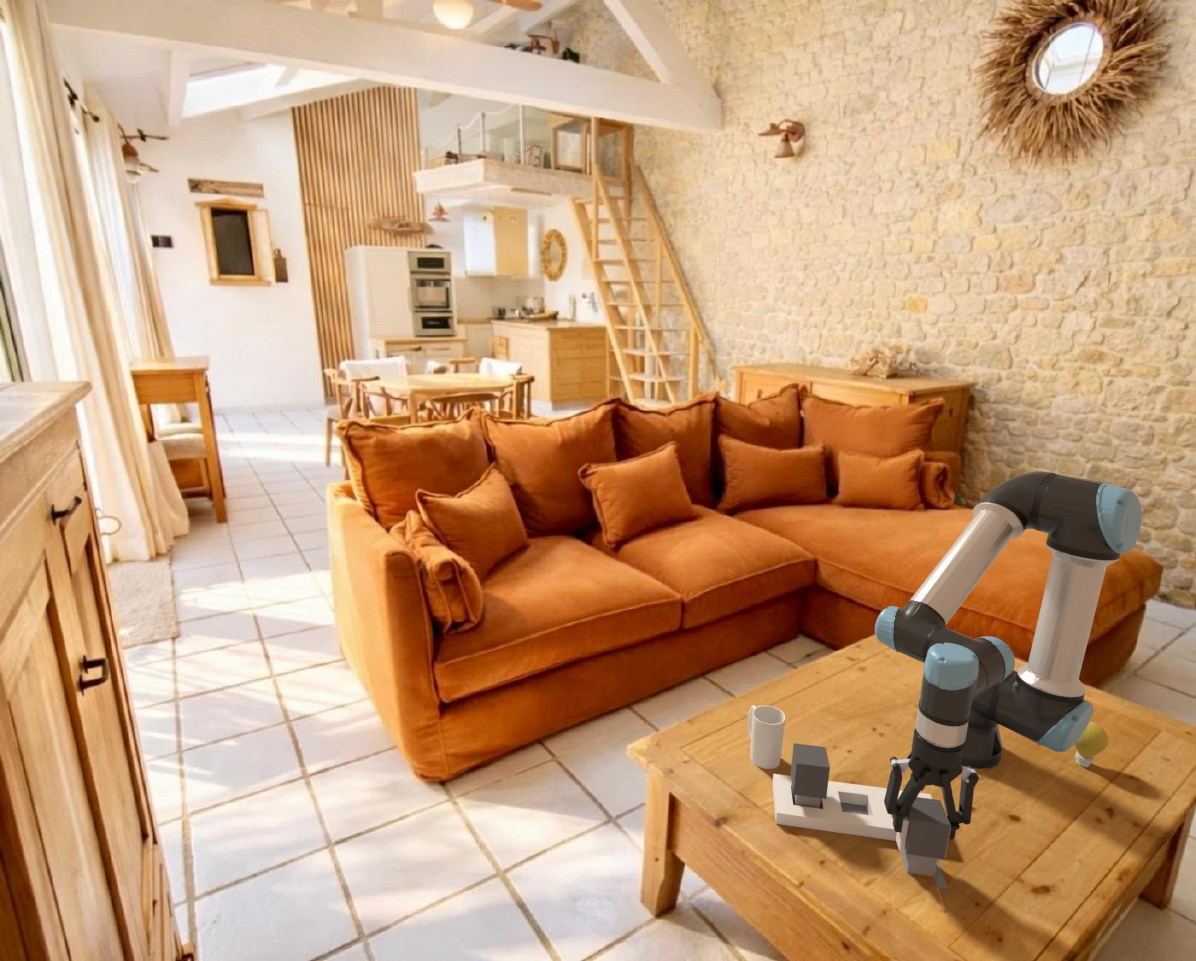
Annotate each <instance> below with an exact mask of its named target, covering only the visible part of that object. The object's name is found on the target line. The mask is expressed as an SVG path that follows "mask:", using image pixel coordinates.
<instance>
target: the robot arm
mask: <svg viewBox="0 0 1196 961" xmlns="http://www.w3.org/2000/svg"><path fill="white" fill-rule="evenodd" d="M1142 511H1143V510H1142V506H1141V502H1140V499H1139V497H1138V495H1137V494H1136V493H1135V492H1134V491H1132V490H1131V489H1128V488H1125V487H1121V486H1118V485H1113V484H1111V483H1107V482H1104V481H1103V482H1102V481H1097V480H1091V479H1086V478H1080V477H1074V476H1070V475H1063V474H1058V473H1055V472H1050V471H1033V472H1032V471H1030V472H1026V473H1022V474H1020V475H1016V476H1013V477H1011V478H1009V479H1007V480H1004V481H1003V482H1001V483H999V484H998V485H996V486H995V487H993V488H992V489H991V490H989V491H988V492H987V493H986V494H985V495H984V496H983V497H981V498H980V499H979V501H978V502H977V503H976V505H975V506H974V507H973V510H972V516H973V517H972V519H971V520H970V521H969V523H968V524H967V525H966V526H965V528H964V530H963V531H961V533H960V534H959V536H958V537H957V539H955V541H954V542H953V544H952V545H951V546H950V547H949V549H948V550H947V551H946V553H945V554H944V556H943V557H942V558H941V559H940V561H939V562H937V564H936V565H935V567H934V568H933V569H932V571H931V572H930V573H929V575H928V576H927V577H926V579H925V580H923V582H922V583H921V585H920V587H918V589H917V590H916V591H915V593H914V594H913V595H912V596H911V598H910V599H909V600H908V602H906V604H905V605H904V606H903V607H902V608H901V607H899V606H894V605H890V606H887V607H886V608H884V609H883V610H881V611H880V613H879V615H878V617H877V619H876V621H875V626H874V633H875V638H876V640H878V642H880V643H881V644H883V645H885V646H887V647H888V648H890V649H891V650H894V651H895V652H896V653H900V654H903V655H904V656H905V655H906V656H907V657H909V658H912V659H914V660H916V661H918V662H920V663H923V667H922V672H923V674H922V680H921V681H922V682H921V688H920V694H919V702H918V707H917V713H916V718H915V724H914V726H915V727H914V730H913V735H912V736H913V739H912V743H911V751H910V753H909V754H908V755H907V758H902V759H898V758H897V757H896V756H891V757H890V758H889V761H890V766H891V770H890V774H889V778H888V782H887V787H886V788H887V791H886V795H885V799H884V804H885V807H886V810H887V813H888V814H894V817H893V826H894V830H895V832H897V835H896V841H895V842H896V845H897V848H898V852H900V853H901V852H904V849H905V842H906V836H907V830H908V823H909V820H908V817H907V813H908V811H909V809H910V808H911V806H912V804H913V803H914V801H915V799H916V798H917V796H918V794H919V793H921V791H924V789H925V788H926V786H935V787H939V788H941V789H940V790H941V794H942V798H943V803H944V806H945V808H944V809H945V813H946V815H947V818H948V820H949V822H950V825H951V827H950V832H949V838H948V841H949V840H952V841H954V839H955V837H956V832H957V831H958V830H959V829H961V826H960V824H964V825H967V826H968V825H970V824H971V821H972V813H973V802H974V801H973V800H974V793H975V792H974V791H975V788H976V786H977V784H978V782H979V779H980V777H979V775H978V773H977V771H976V769H981V770H983V769H991V768H994V767H996V766H997V765H999V764H1000V762H1002V757H1003V748H1004V747H1003V743H1002V737H1001V733H1000V726H1001V727H1004V728H1005V729H1008V730H1009V731H1012V732H1014V733H1016V734H1017V735H1020V736H1022V737H1024V738H1026V739H1028V740H1030V741H1032V742H1033V743H1035V744H1037V745H1038V746H1043V747H1044V748H1047V749H1049V750H1051V751H1054V752H1057V753H1064V752H1065V753H1066V752H1067V751H1069V750H1070V749H1071V748H1073V746H1074V744H1075V743H1076V742H1077V741H1078V740H1079V738H1080V737H1081V736H1082V734H1083V733H1084V731H1085V729H1086V728H1087V726H1088V724H1089V722H1090V721H1091V719H1092V717H1093V714H1094V704H1092V703H1091V702H1090V701H1089V700H1084V699H1085V695H1086V690H1087V689H1086V686H1085V685H1084V684H1083V683H1082V681H1081V680H1080V679H1079V678H1080V675H1081V670H1082V667H1083V662H1084V658H1085V655H1086V650H1087V646H1088V643H1089V638H1090V634H1091V631H1092V627H1093V623H1094V619H1095V615H1096V610H1097V607H1098V603H1099V599H1100V594H1101V591H1102V586H1103V583H1104V579H1105V575H1106V570H1107V567H1108V566H1109V565H1112V564H1114V563H1115V562H1118V561H1119V560H1120V557H1121V555H1122V554H1128V553H1130V552H1132V550H1133V549H1134V548H1135V546H1136V544H1137V542H1138V540H1137V539H1138V538H1139V536H1140V534H1141V533H1140V532H1141V527H1142V518H1143V517H1142V516H1143V515H1142ZM1026 530H1036V531H1039V532H1042V533H1044V534H1047V536H1046V537H1047V538H1046V541H1045V547H1046V548H1048V550H1049V551H1050V552H1051V553H1052V557H1051V562H1050V567H1049V569H1048V575H1047V578H1046V583H1045V588H1044V592H1043V597H1042V601H1041V606H1040V609H1039V613H1038V614H1039V615H1038V618H1037V624H1036V627H1035V630H1034V631H1035V632H1034V635H1033V640H1032V645H1031V650H1030V653H1029V658H1028V662H1027V664H1025V665H1022V666H1019V667H1018V668H1017V670H1014V669H1015V665H1016V661H1015V660H1016V659H1015V655H1014V652H1013V651H1012V649H1011V648H1010V646H1009V645H1008V644H1007V643H1005V642H1004V641H1003V640H1002V639H1000V638H998V637H996V636H990V635H989V636H980V637H977V638H972V637H971V636H967V635H965V634H963V633H960V632H958V631H955V630H953V629H951V628H948V627H946V626H947V624H948V623H949V622H950V621H951V619H952V618H953V617H954V615H955V614H956V612H957V611H958V610H959V608H960V607H961V606H962V605H963V603H964V601H965V600H967V598H968V597H969V595H970V594H971V592H972V591H973V590H974V588H976V586H977V585H978V583H979V582H980V580H982V578H983V577H984V575H985V574H986V572H987V571H988V570H989V569H990V567H991V566H992V565H993V563H994V562H995V561H996V559H997V558H998V557H999V555H1000V554H1001V552H1002V551H1003V550H1004V548H1005V547H1006V546H1007V545H1008V544H1009V543H1010V541H1011V540H1015V539H1018V538H1020V537H1021V536H1022V534H1023V533H1024V532H1025V531H1026ZM1074 747H1075V746H1074ZM908 768H909V769H910V770H911V773H910V778H909V780H908V781H907V783H906V784H905V786H904V788H903V789H902V790H903V791H902V793H901V795H900V797H899V798H898V795H899V791H900V790H901V786H902V783H903V776H904V775H905V774H906V771H907V769H908ZM959 776H960V779H961V781H960V792H959V800H958V810H957V809H956V805H955V800H954V795H953V788H952V783H951V782H953V781H954V780H955V779H956V778H957V777H959ZM897 799H898V800H897ZM948 846H949V842H948V843H947V847H948ZM947 851H948V848H947V849H946V852H947ZM946 856H947V853H946V854H945V858H946Z"/></svg>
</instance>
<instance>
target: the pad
mask: <svg viewBox="0 0 1196 961" xmlns="http://www.w3.org/2000/svg"><path fill="white" fill-rule="evenodd" d="M942 871H943V870H942V868H941V865H940V862H939V859H937V865H936V870H935V876H934V878H933V881H934V883H935V887H936V888H939V889H944V890H948V889H949V887H948V884H947V881H946V880H945V877H944V873H943V872H942Z"/></svg>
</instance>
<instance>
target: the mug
mask: <svg viewBox="0 0 1196 961" xmlns="http://www.w3.org/2000/svg"><path fill="white" fill-rule="evenodd" d="M785 724H786V715H785V713H784V712H783V711H782V710H781V709H780V708H779V707H775V706H772V705H765V704H764V705H757V706H756V705H755V704H753V705H751V706H750V709H749V712H748V713H747V730H748V732H747V733H748V737H749V739H750V751H749V752H750V754H749V755H750V756H749V757H750V758H749V759H750V761H751V763H752V764H753V765H755V766H757V767H759V768H760V769H764V770H765V769H766V770H773V769H776V768H777V767H779V766H780V763H781V759H782V758H781V757H782V750H783V749H782V748H783V741H784V734H785V726H786V725H785Z"/></svg>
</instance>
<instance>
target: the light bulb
mask: <svg viewBox="0 0 1196 961" xmlns="http://www.w3.org/2000/svg"><path fill="white" fill-rule="evenodd" d="M1108 745H1109V736H1108V733H1107V732H1106V730H1105V729H1104V728H1103V727H1102V726H1101V725H1099V724H1098V723H1096V722H1094V721H1091V720H1090V722H1089V724H1088V726H1087V728H1086V729H1085V731H1084V733H1083V734H1082V736H1081V737H1080V738H1079V740H1078V741H1077V742H1076V743H1075V744H1074V748H1075V749H1076V751H1075V754H1074V758H1075V759H1076V764H1077V763H1078V764H1077V765H1079V766H1080V765H1081V766H1080V767H1083V766H1084V768H1089V767H1090V765H1091V764H1093V763H1094V757H1095V756H1097V755H1099V754H1100V753H1102V752H1103V751H1104V750H1106V749H1107V747H1108Z"/></svg>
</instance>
